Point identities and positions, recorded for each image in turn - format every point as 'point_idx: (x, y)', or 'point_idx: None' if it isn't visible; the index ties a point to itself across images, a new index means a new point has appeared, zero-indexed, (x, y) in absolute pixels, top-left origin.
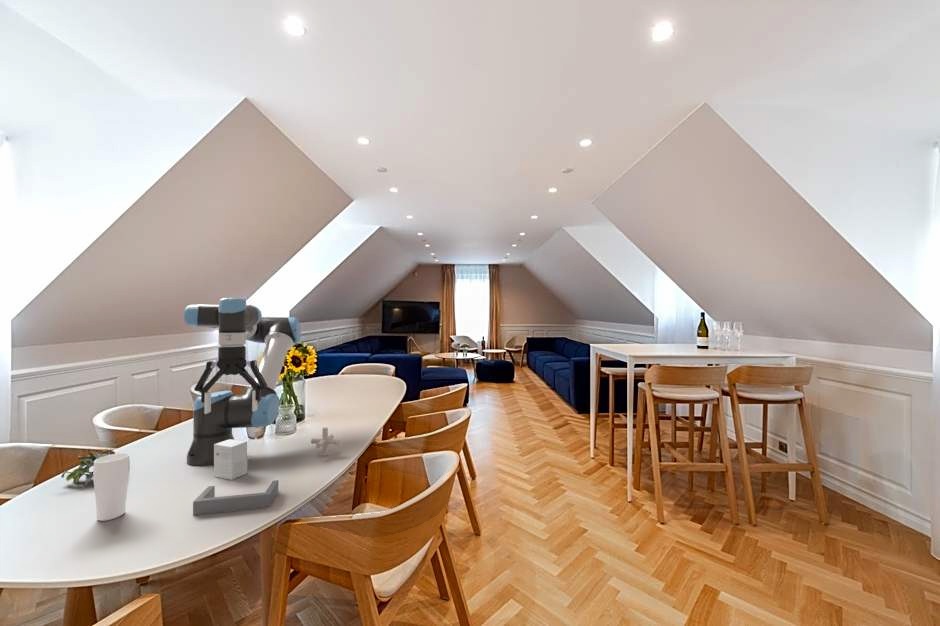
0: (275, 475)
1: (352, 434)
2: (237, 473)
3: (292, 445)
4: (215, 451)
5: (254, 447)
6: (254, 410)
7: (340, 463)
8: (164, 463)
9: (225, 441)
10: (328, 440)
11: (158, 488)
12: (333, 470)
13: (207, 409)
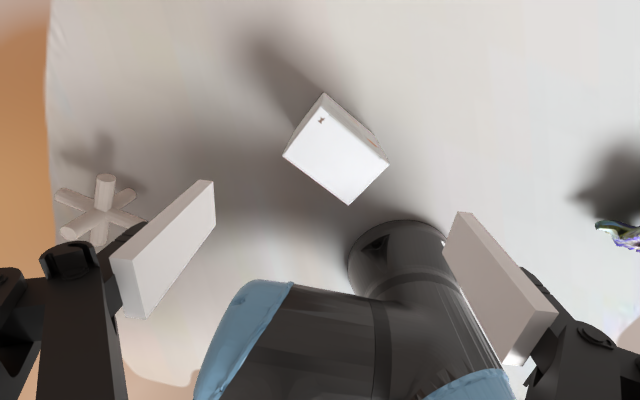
0: (217, 88)
1: None
2: (312, 106)
3: (232, 280)
4: (380, 151)
5: None
6: (198, 182)
7: (63, 118)
8: None
9: (356, 181)
10: (85, 204)
11: (496, 100)
12: (63, 69)
13: (465, 227)
